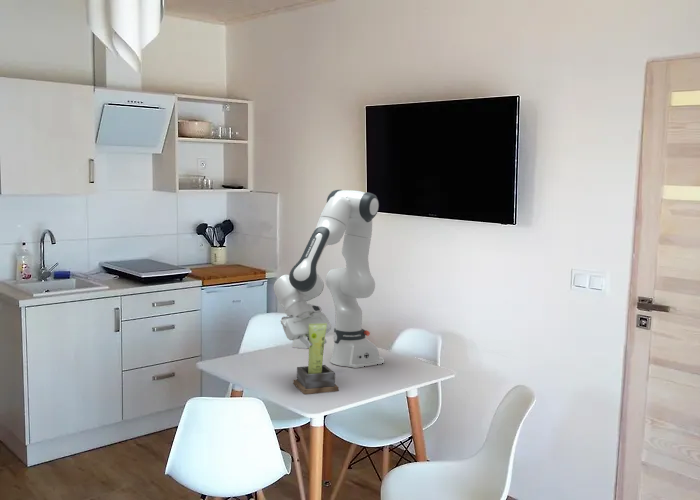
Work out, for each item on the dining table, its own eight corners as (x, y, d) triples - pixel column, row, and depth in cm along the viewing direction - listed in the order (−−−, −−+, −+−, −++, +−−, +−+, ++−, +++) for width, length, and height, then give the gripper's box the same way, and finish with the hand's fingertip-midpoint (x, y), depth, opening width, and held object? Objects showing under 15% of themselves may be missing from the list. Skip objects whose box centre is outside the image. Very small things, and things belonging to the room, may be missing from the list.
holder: (325, 380, 258) (326, 363, 257) (338, 390, 246) (338, 373, 245) (293, 383, 253) (293, 366, 252) (304, 394, 241) (304, 376, 240)
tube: (317, 378, 244) (321, 325, 244) (304, 376, 246) (308, 323, 245) (323, 375, 250) (327, 323, 249) (310, 373, 251) (314, 321, 250)
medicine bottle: (307, 349, 304) (308, 322, 303) (292, 347, 305) (292, 321, 304) (311, 345, 311) (312, 319, 309) (296, 344, 312) (297, 318, 311)
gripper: (282, 312, 243) (301, 344, 238) (323, 306, 258) (341, 336, 253) (274, 322, 247) (292, 354, 241) (314, 315, 262) (332, 345, 256)
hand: (317, 345), depth 247 cm, fingers closed on tube, 6 cm apart
